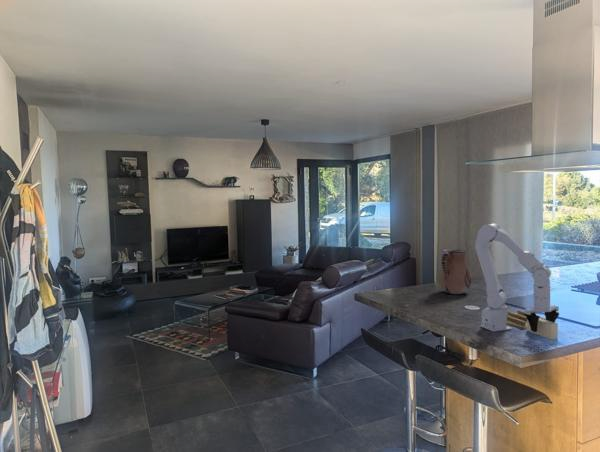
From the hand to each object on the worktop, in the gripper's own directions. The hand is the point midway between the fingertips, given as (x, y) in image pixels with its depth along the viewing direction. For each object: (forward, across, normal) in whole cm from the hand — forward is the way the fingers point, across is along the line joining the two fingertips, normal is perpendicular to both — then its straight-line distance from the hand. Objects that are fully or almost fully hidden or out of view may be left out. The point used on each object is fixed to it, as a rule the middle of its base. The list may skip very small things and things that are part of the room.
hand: (541, 330), depth 168 cm
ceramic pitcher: (+2, +13, +76) cm, 77 cm away
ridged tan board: (+2, +6, +17) cm, 18 cm away
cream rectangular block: (+2, 0, 0) cm, 2 cm away
